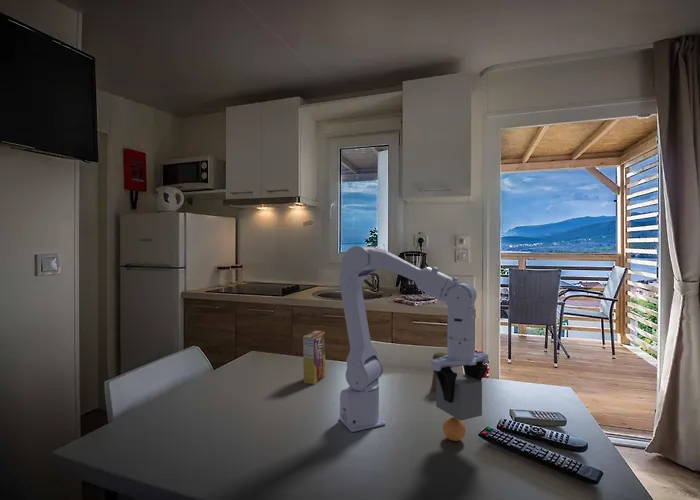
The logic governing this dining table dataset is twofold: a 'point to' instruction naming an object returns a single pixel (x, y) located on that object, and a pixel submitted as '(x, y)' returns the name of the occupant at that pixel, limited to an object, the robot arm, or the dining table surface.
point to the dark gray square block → (462, 397)
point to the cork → (433, 387)
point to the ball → (454, 429)
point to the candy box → (314, 357)
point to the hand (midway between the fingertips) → (460, 398)
